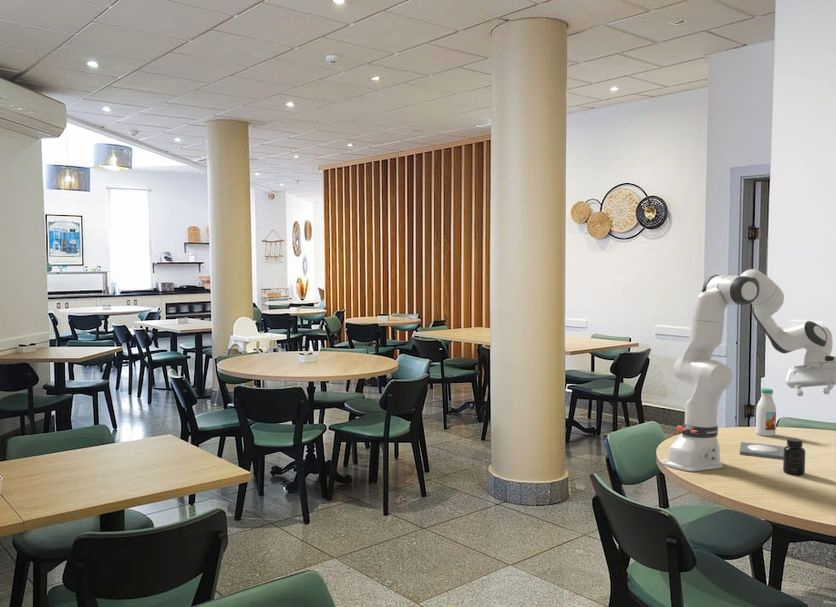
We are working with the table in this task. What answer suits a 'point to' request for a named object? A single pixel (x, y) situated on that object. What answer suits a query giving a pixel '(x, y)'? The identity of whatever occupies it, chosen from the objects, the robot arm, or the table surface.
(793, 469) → the supplement bottle
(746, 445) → the charging pad
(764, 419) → the milk bottle
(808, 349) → the robot arm
